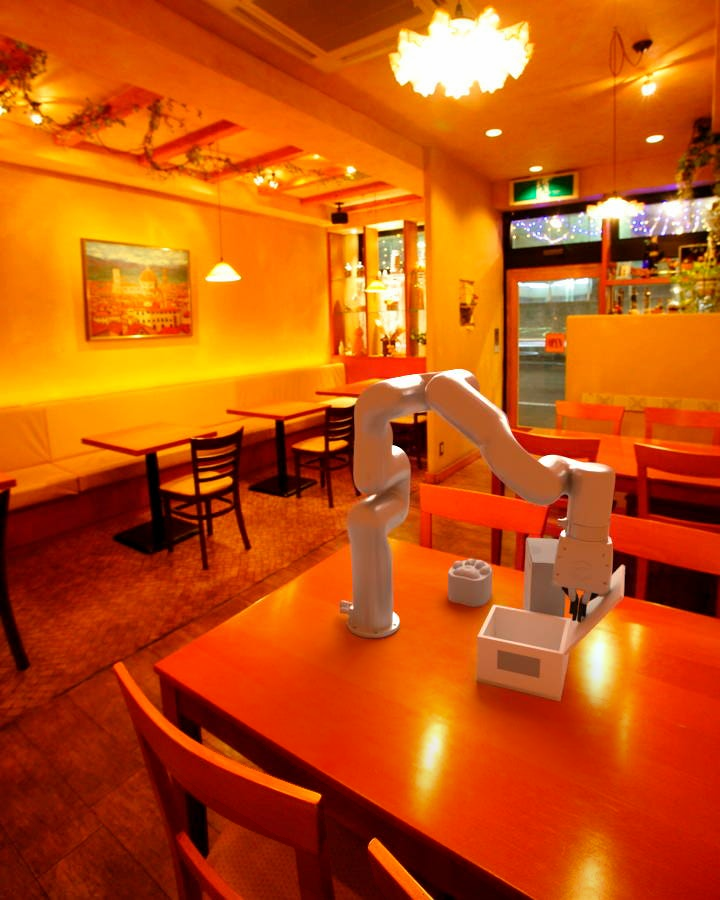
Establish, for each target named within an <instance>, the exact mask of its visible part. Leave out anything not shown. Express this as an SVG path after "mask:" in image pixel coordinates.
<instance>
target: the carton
mask: <svg viewBox="0 0 720 900" xmlns="http://www.w3.org/2000/svg"><path fill="white" fill-rule="evenodd" d="M570 620H571V618H570V617H569V618H568V617H565V616H564V617H558V616H553V615H547V614H542V613H537V612H531V611H526V610H523V609H519V608H514V607H509V606H504V605H503V606H502V605H498V604H493V605H492V606H491V609H490V610H489V613H488V615H487V616H486V619H485V620H484V622H483V625H482V626H481V629H480V631H479V633H478V634H477V648H476V650H477V651H476V652H477V653H476V682H479V683H483V684H485V685H486V684H487V685H489V686H495V687H498V688H503V689H506V690H511V691H515V692H519V693H523V694H527V695H531V696H535V697H539V698H544V699H548V700H553V701H556V702H561V700H562V695H563V690H564V685H565V680H566V675H567V671H568V664H569V655H570V652H569V653H568V654H567V655H565V654H563V652H564V647H565V643H566V638H567V633H568V629H569V624H570Z"/></svg>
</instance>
